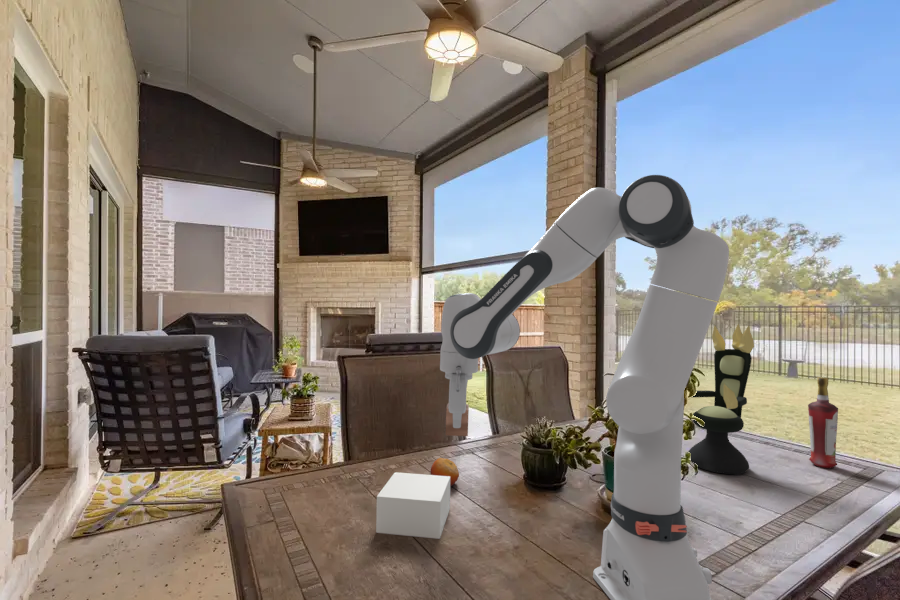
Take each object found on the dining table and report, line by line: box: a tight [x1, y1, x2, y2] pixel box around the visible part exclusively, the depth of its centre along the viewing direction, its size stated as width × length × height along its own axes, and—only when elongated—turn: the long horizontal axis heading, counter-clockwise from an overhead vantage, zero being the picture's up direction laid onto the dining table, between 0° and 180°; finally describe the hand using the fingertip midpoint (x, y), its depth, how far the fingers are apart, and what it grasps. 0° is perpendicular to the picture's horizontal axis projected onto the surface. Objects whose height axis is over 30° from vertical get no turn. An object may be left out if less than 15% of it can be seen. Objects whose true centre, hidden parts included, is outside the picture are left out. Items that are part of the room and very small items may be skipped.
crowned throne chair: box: [687, 323, 755, 475], centre depth 139 cm, size 19×22×45 cm
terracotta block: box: [445, 403, 470, 437], centre depth 100 cm, size 5×5×6 cm
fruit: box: [430, 457, 460, 488], centre depth 120 cm, size 8×8×8 cm
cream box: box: [375, 471, 451, 539], centre depth 100 cm, size 14×14×8 cm
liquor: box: [807, 376, 839, 469], centre depth 139 cm, size 7×7×28 cm
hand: (457, 423), depth 100 cm, fingers closed on terracotta block, 5 cm apart
